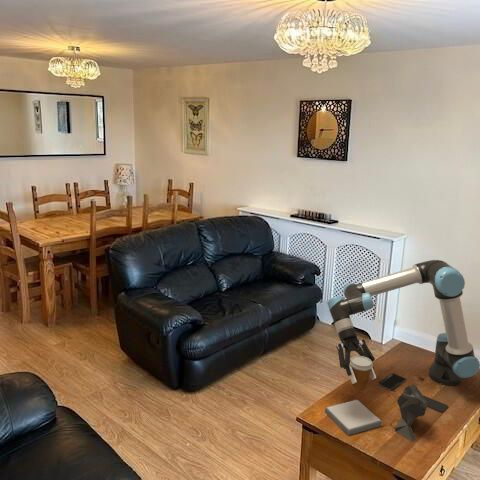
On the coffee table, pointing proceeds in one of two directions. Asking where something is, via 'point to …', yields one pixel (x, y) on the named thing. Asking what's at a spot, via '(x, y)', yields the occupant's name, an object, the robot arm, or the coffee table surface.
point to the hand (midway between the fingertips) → (364, 380)
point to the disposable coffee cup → (361, 371)
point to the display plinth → (353, 417)
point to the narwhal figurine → (410, 410)
